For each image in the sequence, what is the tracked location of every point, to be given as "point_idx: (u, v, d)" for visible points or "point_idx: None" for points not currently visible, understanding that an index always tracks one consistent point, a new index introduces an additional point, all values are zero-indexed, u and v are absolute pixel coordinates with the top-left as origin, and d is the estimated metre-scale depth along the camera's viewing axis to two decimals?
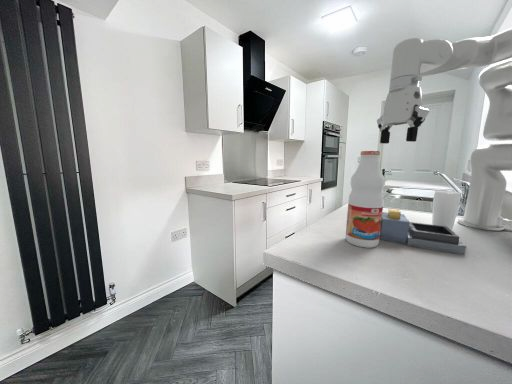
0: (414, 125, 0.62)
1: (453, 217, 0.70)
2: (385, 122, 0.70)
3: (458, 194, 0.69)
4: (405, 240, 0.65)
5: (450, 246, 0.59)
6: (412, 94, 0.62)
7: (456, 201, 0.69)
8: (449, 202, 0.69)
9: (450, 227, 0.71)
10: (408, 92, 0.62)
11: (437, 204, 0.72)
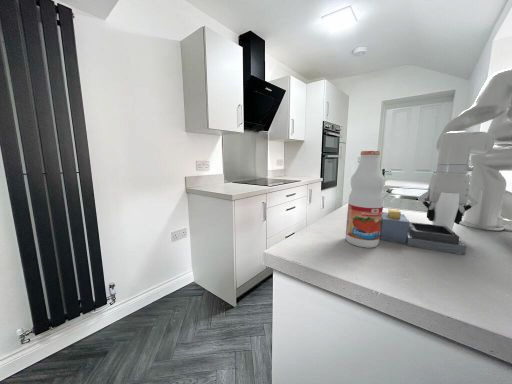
0: None
1: (453, 217, 0.70)
2: (435, 200, 0.72)
3: (458, 194, 0.69)
4: (405, 240, 0.65)
5: (450, 246, 0.59)
6: None
7: (456, 201, 0.69)
8: (449, 202, 0.69)
9: (450, 227, 0.71)
10: (466, 179, 0.68)
11: (437, 204, 0.72)
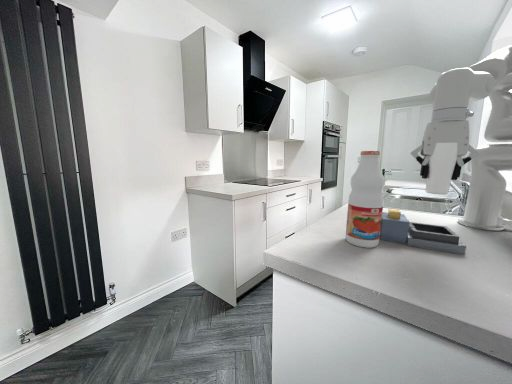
0: (463, 164, 0.60)
1: (450, 171, 0.61)
2: (430, 153, 0.62)
3: (456, 143, 0.59)
4: (405, 240, 0.65)
5: (450, 246, 0.59)
6: None
7: (454, 152, 0.59)
8: (445, 153, 0.60)
9: (447, 183, 0.61)
10: (466, 126, 0.58)
11: (432, 157, 0.62)
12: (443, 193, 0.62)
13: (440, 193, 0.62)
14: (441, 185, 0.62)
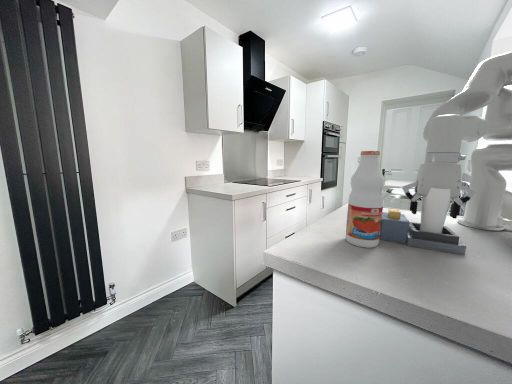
0: None
1: (443, 216, 0.62)
2: (423, 194, 0.64)
3: (449, 190, 0.61)
4: (405, 240, 0.65)
5: (450, 246, 0.59)
6: None
7: (447, 197, 0.61)
8: (439, 199, 0.62)
9: (440, 227, 0.63)
10: (458, 169, 0.60)
11: (426, 200, 0.64)
12: None
13: None
14: (434, 228, 0.64)
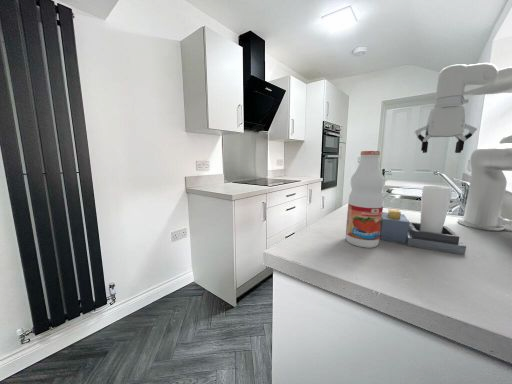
0: (465, 139, 0.74)
1: (443, 215, 0.62)
2: (433, 134, 0.77)
3: (448, 189, 0.61)
4: (405, 240, 0.65)
5: (450, 246, 0.59)
6: (464, 113, 0.73)
7: (446, 197, 0.61)
8: (438, 199, 0.62)
9: (440, 227, 0.63)
10: (462, 110, 0.73)
11: (425, 200, 0.64)
12: None
13: None
14: (434, 228, 0.64)
